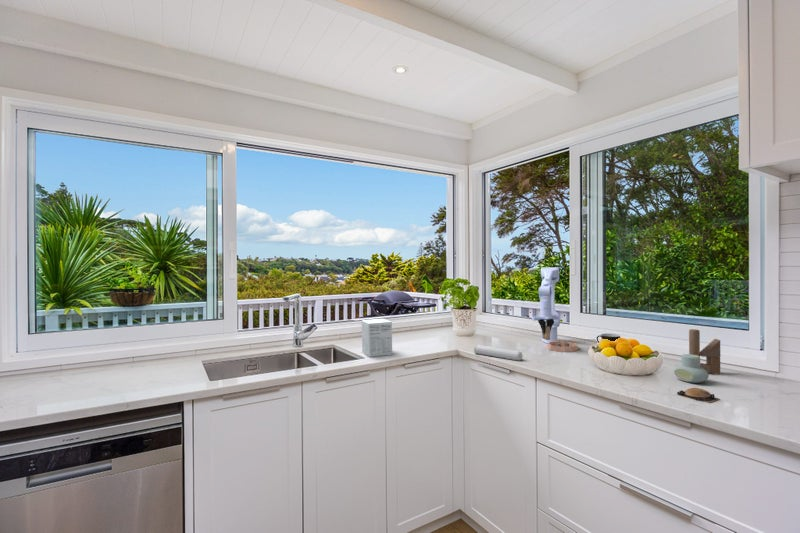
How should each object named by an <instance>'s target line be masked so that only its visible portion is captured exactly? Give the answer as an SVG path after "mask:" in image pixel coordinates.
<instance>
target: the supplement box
mask: <svg viewBox="0 0 800 533" xmlns="http://www.w3.org/2000/svg"><path fill="white" fill-rule="evenodd" d="M361 349H362V353H363V354H365V355H366V356H367V357H368V358H372V357H383V356H391V355H393V321H391V320H388V319H385V318H374V319H363V320H361Z"/></svg>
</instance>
